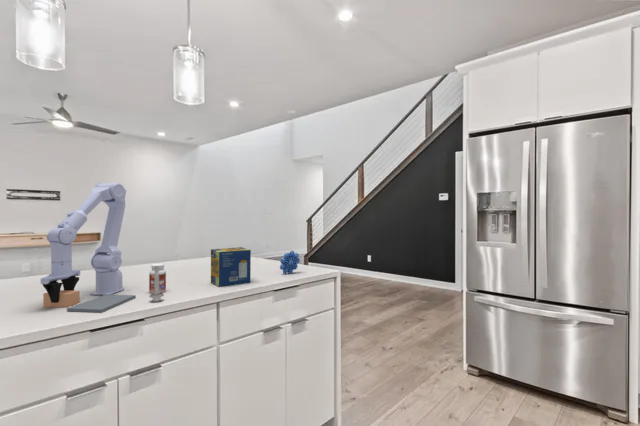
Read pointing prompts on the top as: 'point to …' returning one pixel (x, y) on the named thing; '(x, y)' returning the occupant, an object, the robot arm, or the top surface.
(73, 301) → the tan rectangular block
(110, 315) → the top surface
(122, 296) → the rubber mat
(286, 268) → the grapes
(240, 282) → the protein box
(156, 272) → the white flanged spindle
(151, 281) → the pill bottle
